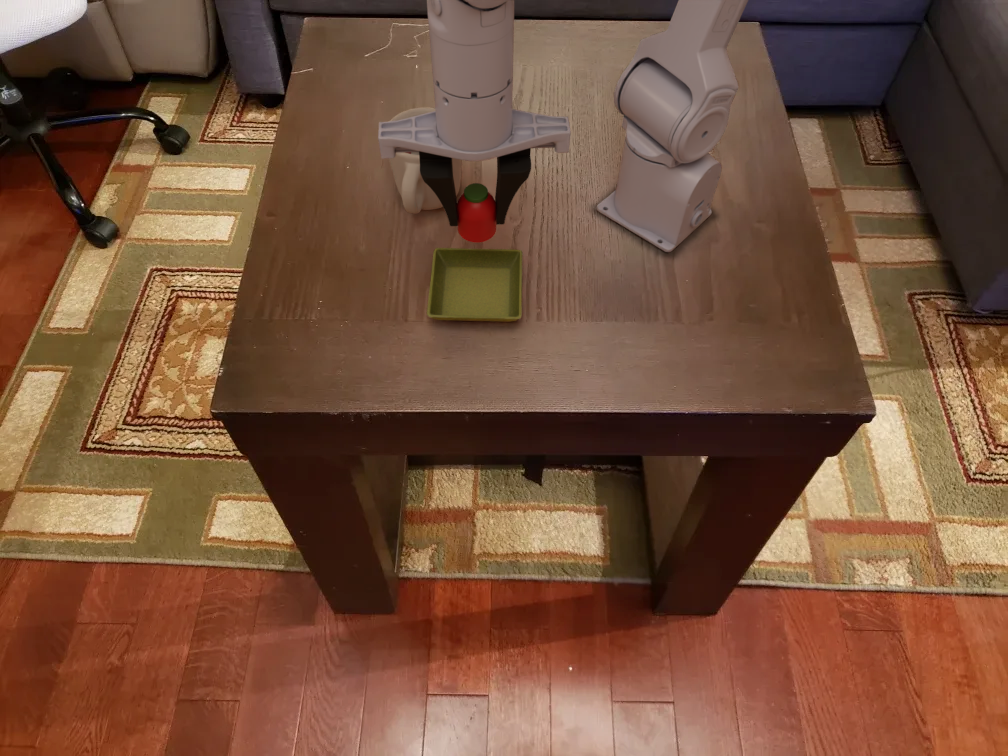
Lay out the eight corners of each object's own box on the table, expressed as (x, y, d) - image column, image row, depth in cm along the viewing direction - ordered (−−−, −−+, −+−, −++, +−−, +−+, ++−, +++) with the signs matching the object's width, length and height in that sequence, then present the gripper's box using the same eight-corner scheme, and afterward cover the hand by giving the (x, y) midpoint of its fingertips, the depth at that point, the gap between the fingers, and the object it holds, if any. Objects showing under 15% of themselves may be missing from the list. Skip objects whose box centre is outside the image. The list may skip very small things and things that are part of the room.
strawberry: (495, 214, 66) (495, 176, 62) (497, 242, 64) (497, 204, 60) (457, 216, 66) (455, 177, 62) (458, 243, 64) (455, 206, 60)
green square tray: (521, 332, 69) (521, 318, 67) (427, 330, 69) (426, 316, 67) (522, 263, 74) (522, 249, 72) (435, 261, 74) (433, 247, 72)
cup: (450, 243, 75) (446, 182, 69) (375, 232, 76) (363, 170, 69) (474, 174, 81) (472, 111, 75) (404, 164, 82) (395, 101, 75)
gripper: (568, 40, 55) (556, 182, 66) (372, 45, 54) (393, 188, 66) (579, 97, 51) (564, 239, 62) (368, 104, 50) (391, 245, 62)
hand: (477, 217), depth 64 cm, fingers closed on strawberry, 3 cm apart
